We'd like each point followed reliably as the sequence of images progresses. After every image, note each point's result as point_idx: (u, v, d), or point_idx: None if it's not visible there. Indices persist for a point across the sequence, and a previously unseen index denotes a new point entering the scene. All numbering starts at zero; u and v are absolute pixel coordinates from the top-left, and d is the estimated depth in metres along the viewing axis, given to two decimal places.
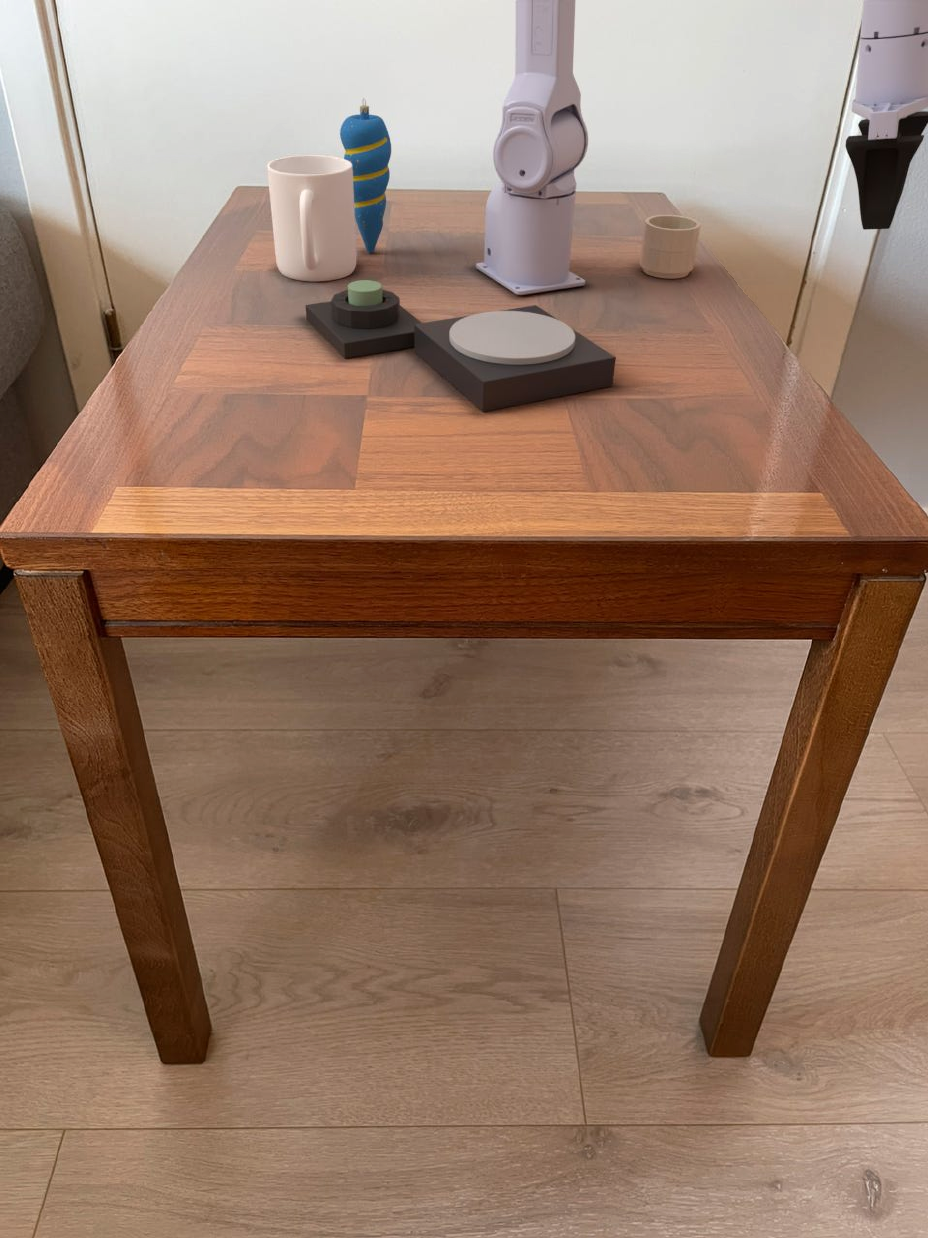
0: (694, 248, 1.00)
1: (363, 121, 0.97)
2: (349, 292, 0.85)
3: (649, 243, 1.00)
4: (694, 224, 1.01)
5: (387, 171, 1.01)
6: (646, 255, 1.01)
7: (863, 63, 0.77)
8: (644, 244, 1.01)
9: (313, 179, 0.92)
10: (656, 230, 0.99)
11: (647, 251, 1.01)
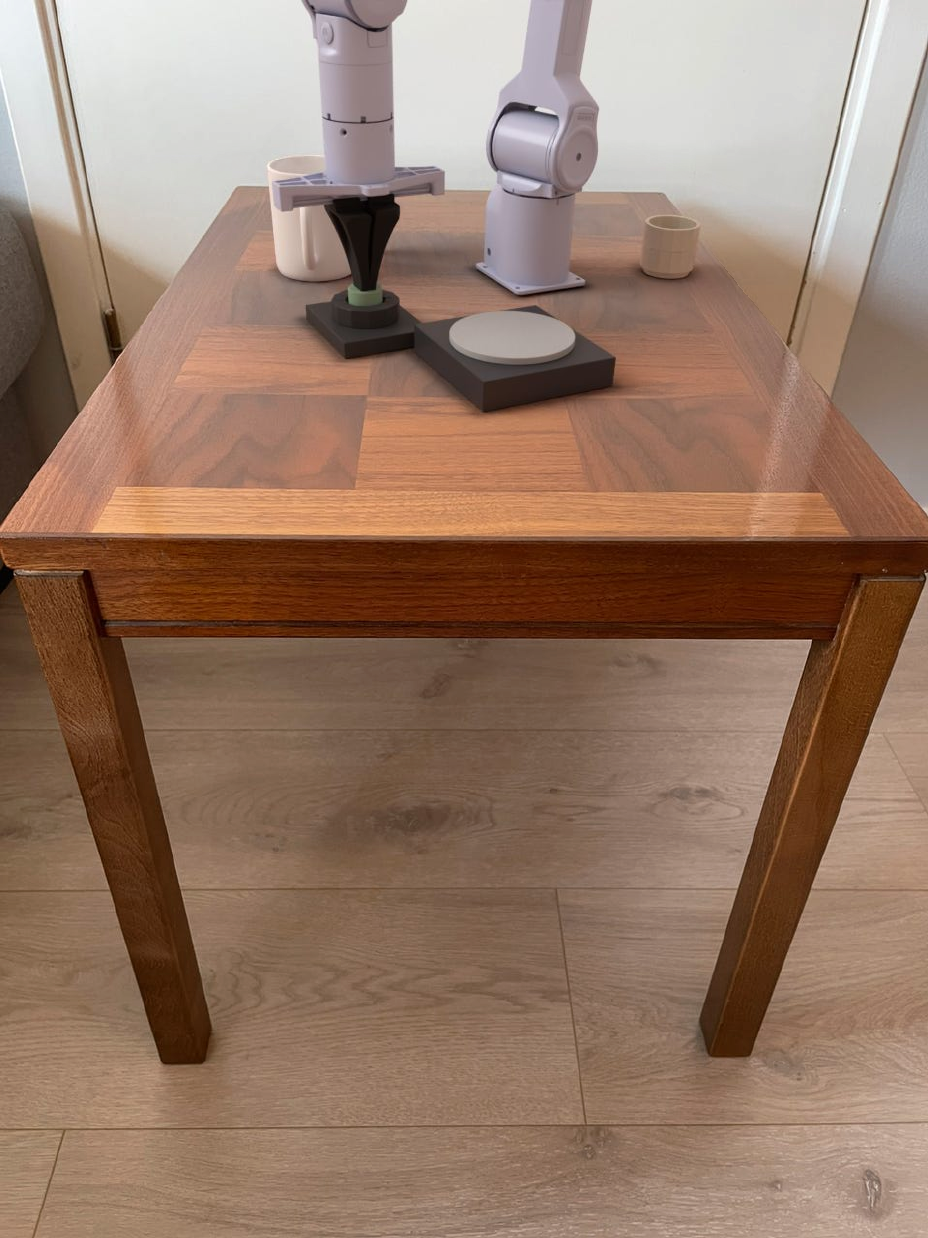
0: (694, 248, 1.00)
1: None
2: (349, 294, 0.85)
3: (649, 243, 1.00)
4: (694, 224, 1.01)
5: None
6: (646, 255, 1.01)
7: None
8: (644, 244, 1.01)
9: None
10: (656, 230, 0.99)
11: (647, 251, 1.01)
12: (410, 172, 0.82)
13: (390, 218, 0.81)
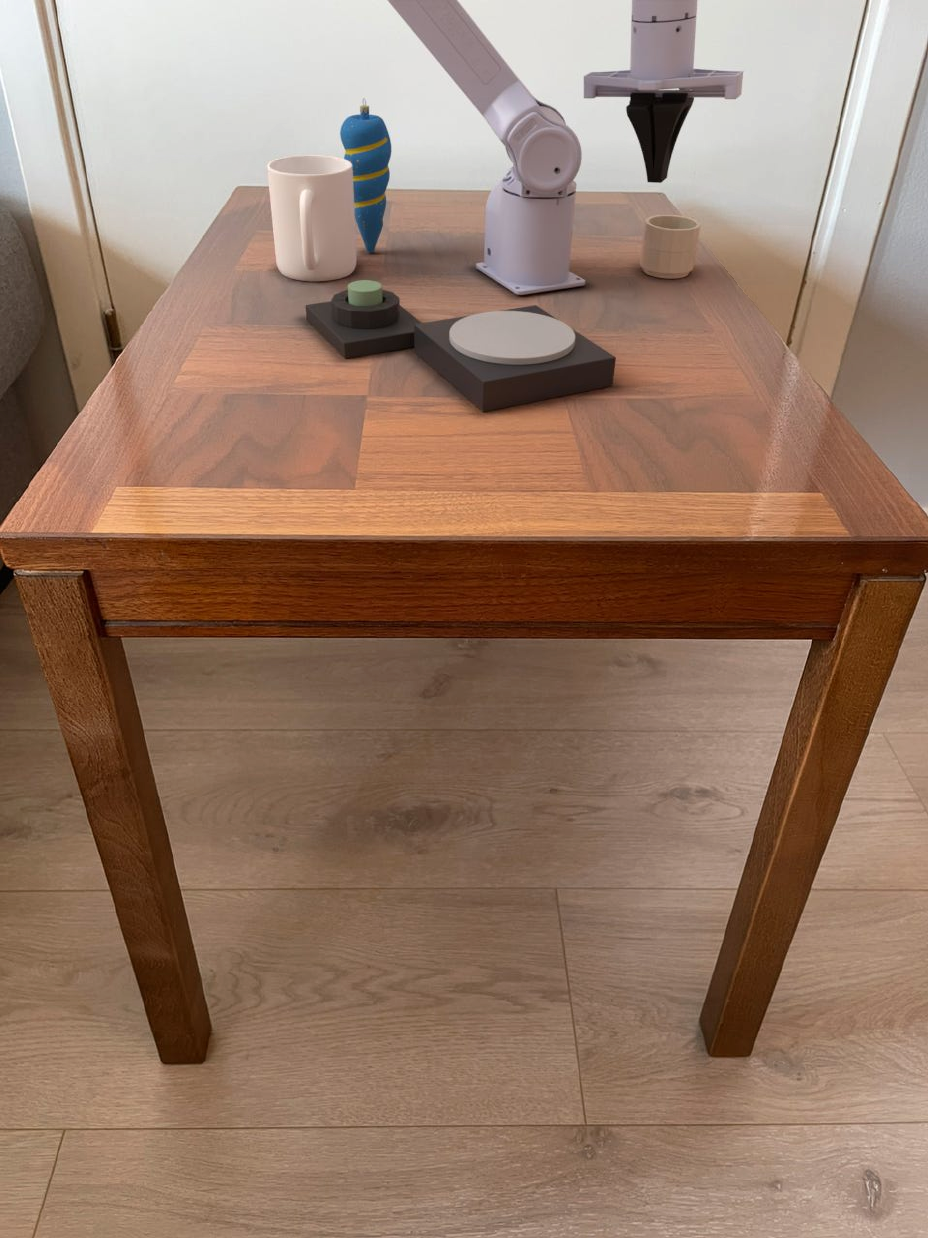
0: (694, 248, 1.00)
1: (363, 121, 0.97)
2: (349, 292, 0.85)
3: (649, 243, 1.00)
4: (694, 224, 1.01)
5: (387, 171, 1.01)
6: (646, 255, 1.01)
7: None
8: (644, 244, 1.01)
9: (313, 179, 0.92)
10: (656, 230, 0.99)
11: (647, 251, 1.01)
12: (708, 74, 0.88)
13: (667, 114, 0.89)
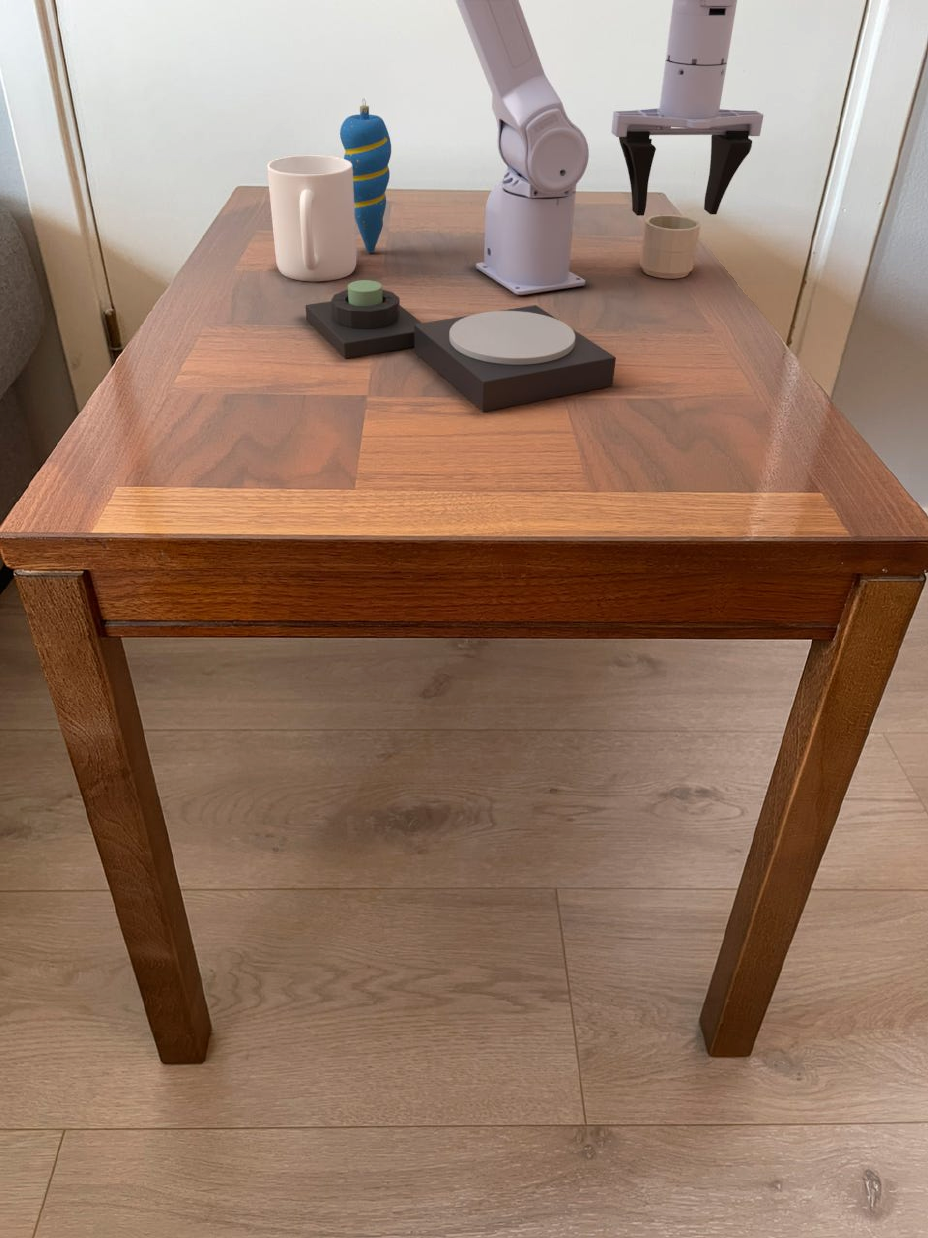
0: (694, 248, 1.00)
1: (363, 121, 0.97)
2: (349, 292, 0.85)
3: (649, 243, 1.00)
4: (694, 224, 1.01)
5: (387, 171, 1.01)
6: (646, 255, 1.01)
7: None
8: (644, 244, 1.01)
9: (314, 179, 0.92)
10: (656, 230, 0.99)
11: (647, 251, 1.01)
12: (732, 113, 0.95)
13: (742, 150, 0.95)
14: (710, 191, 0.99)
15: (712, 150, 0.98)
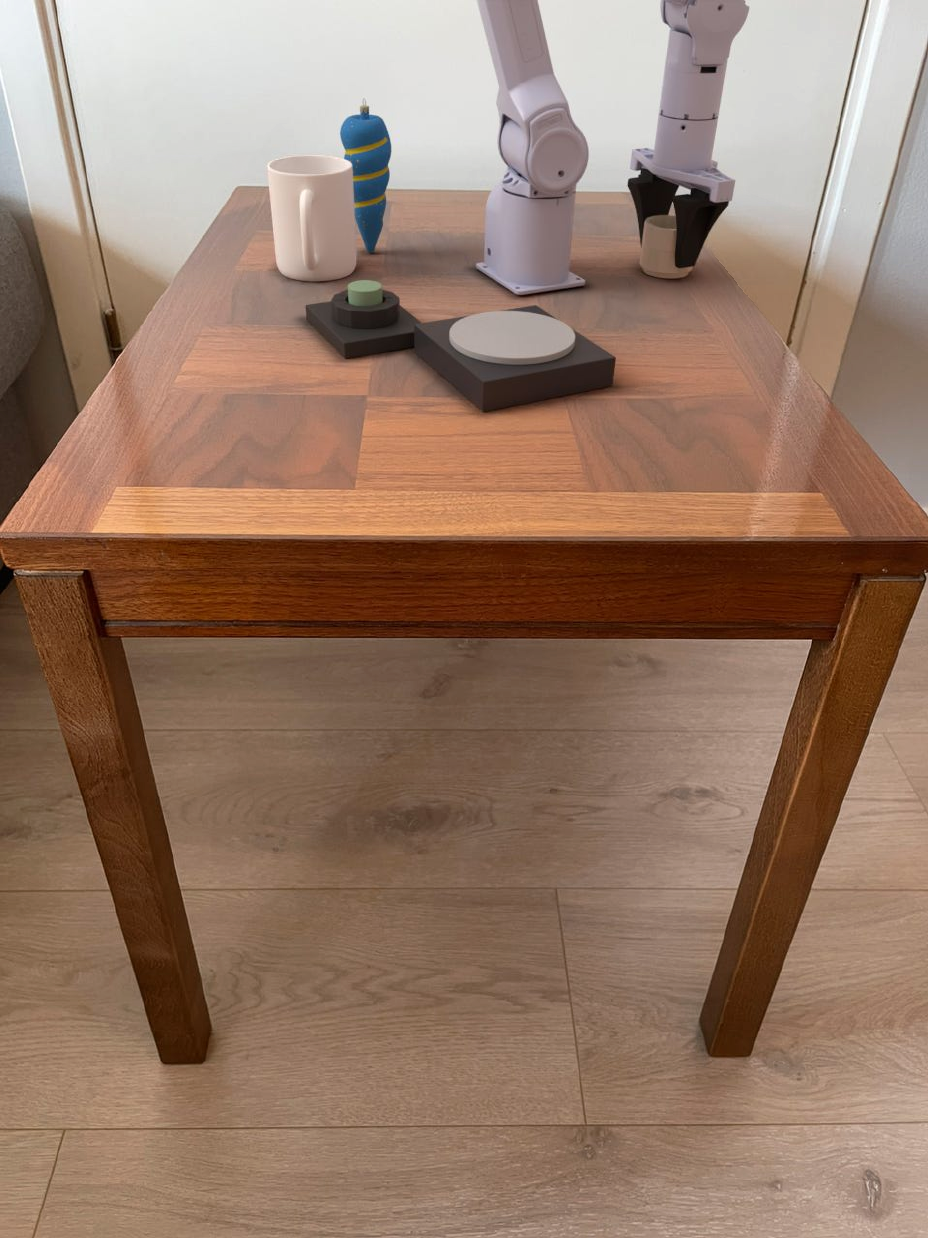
0: None
1: (363, 121, 0.97)
2: (349, 292, 0.85)
3: (649, 243, 1.00)
4: None
5: (387, 171, 1.01)
6: (646, 255, 1.01)
7: (677, 138, 0.93)
8: (644, 244, 1.01)
9: (313, 179, 0.92)
10: (656, 230, 0.99)
11: (647, 251, 1.01)
12: None
13: None
14: None
15: (644, 197, 1.01)
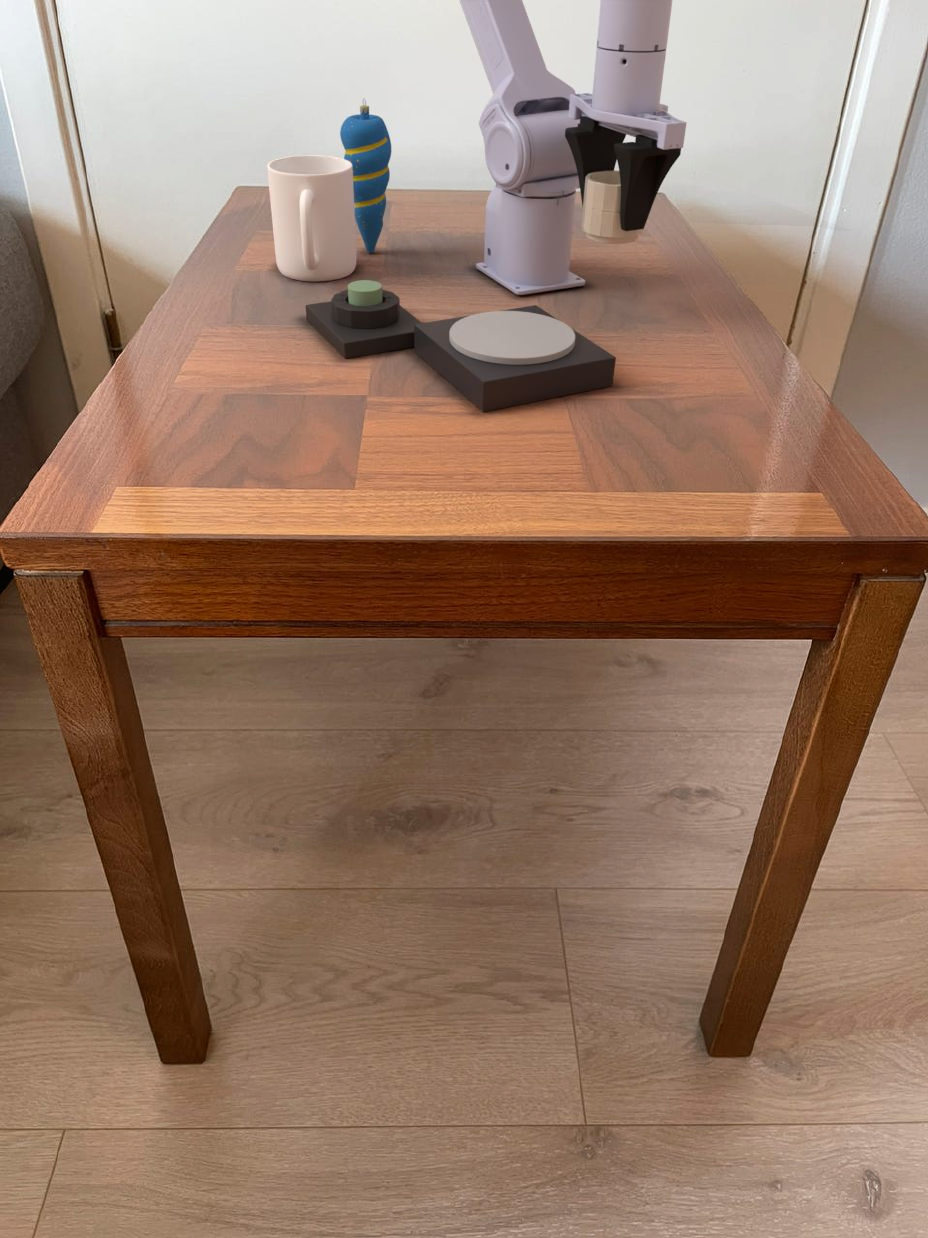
0: None
1: (363, 121, 0.97)
2: (349, 292, 0.85)
3: (590, 202, 0.86)
4: None
5: (387, 171, 1.01)
6: (588, 217, 0.87)
7: (617, 74, 0.79)
8: (585, 204, 0.87)
9: (314, 179, 0.92)
10: (598, 186, 0.85)
11: (589, 212, 0.87)
12: None
13: None
14: None
15: (584, 149, 0.87)
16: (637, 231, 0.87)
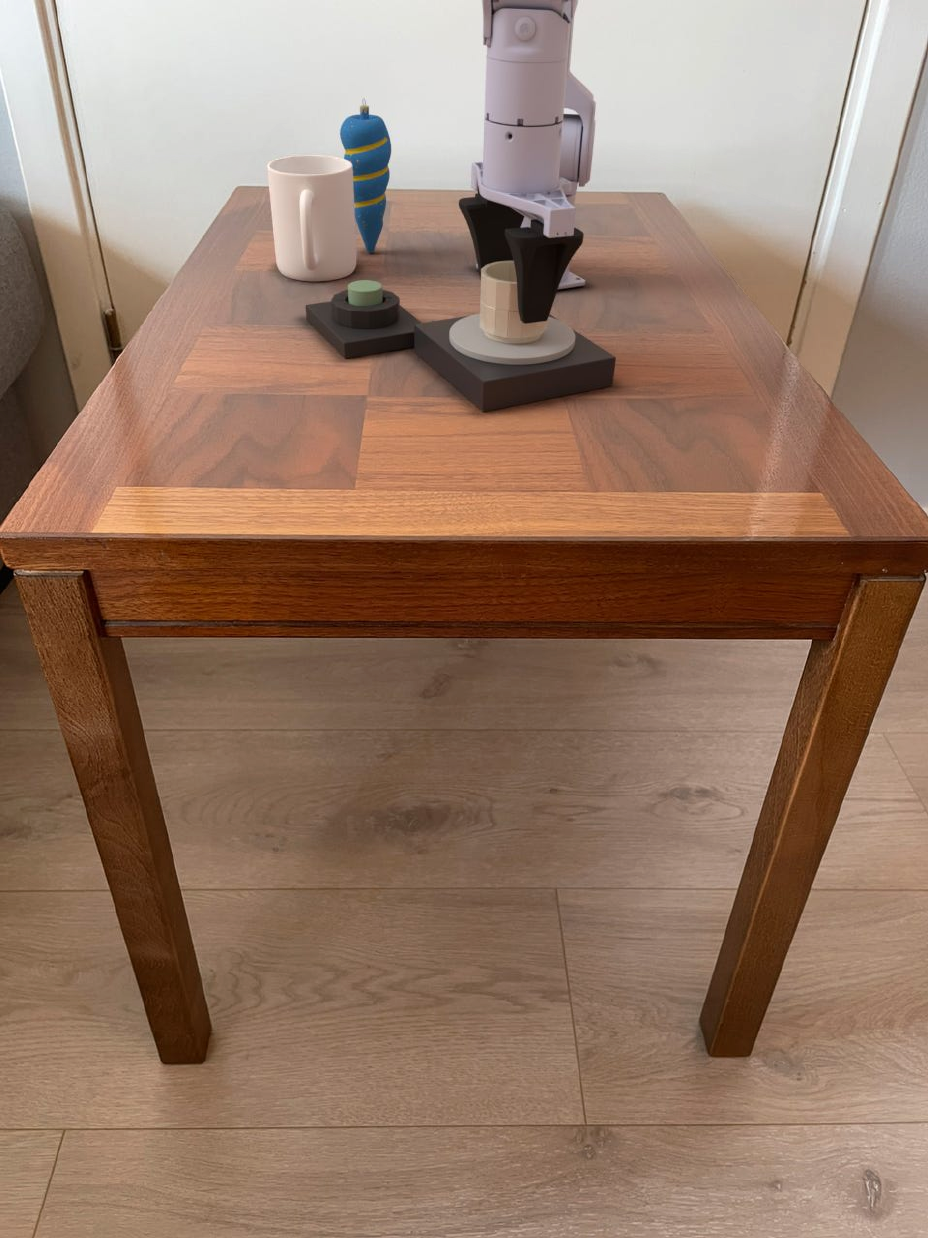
0: None
1: (363, 121, 0.97)
2: (349, 292, 0.85)
3: (484, 298, 0.77)
4: None
5: (387, 171, 1.01)
6: (482, 313, 0.78)
7: (503, 150, 0.70)
8: (480, 299, 0.78)
9: (314, 179, 0.92)
10: (490, 282, 0.76)
11: (483, 308, 0.78)
12: None
13: None
14: None
15: (478, 224, 0.78)
16: (536, 331, 0.78)
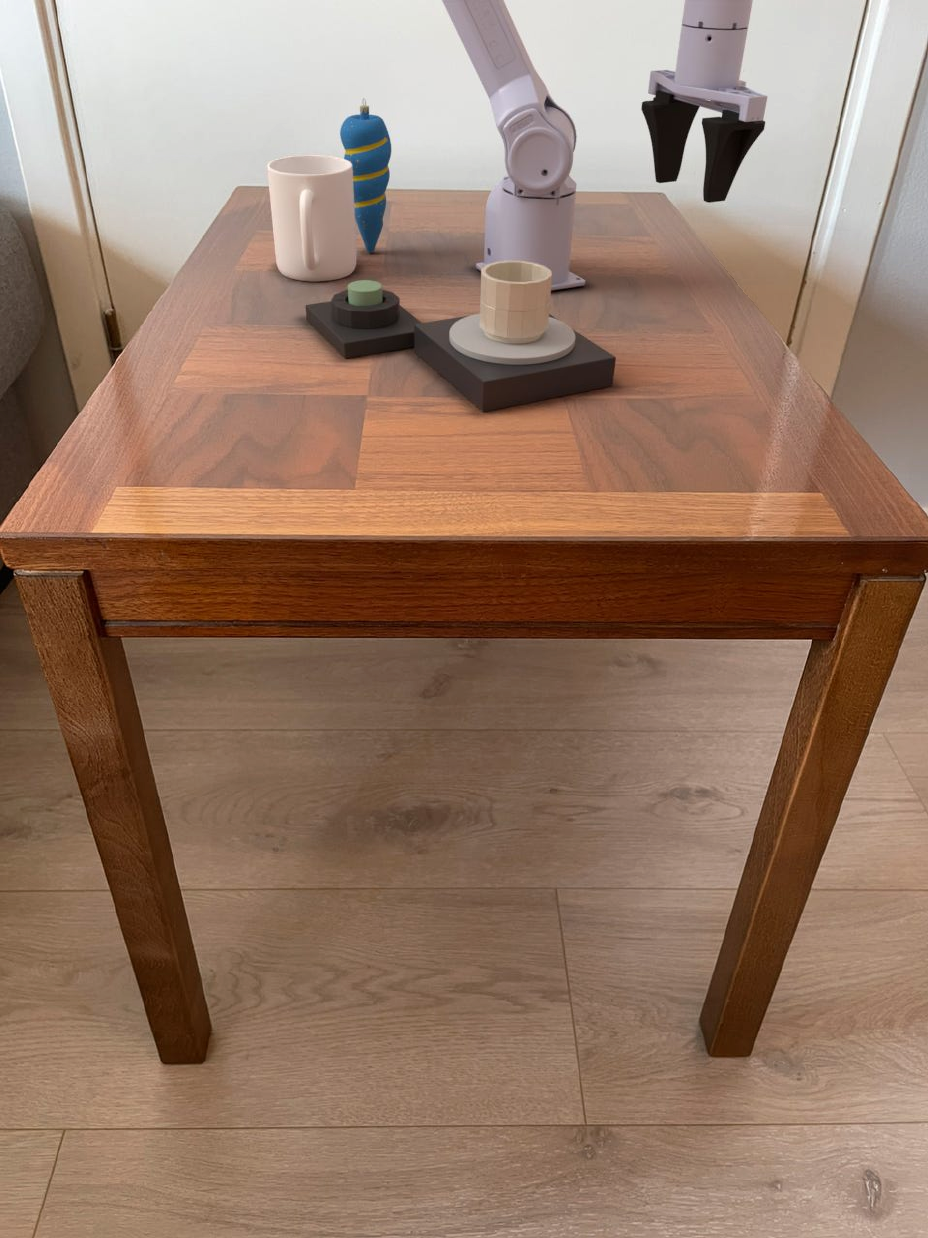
0: (543, 306, 0.77)
1: (363, 121, 0.97)
2: (349, 292, 0.85)
3: (484, 298, 0.77)
4: (546, 274, 0.78)
5: (387, 171, 1.01)
6: (482, 313, 0.78)
7: (702, 50, 0.84)
8: (480, 299, 0.78)
9: (314, 179, 0.92)
10: (490, 282, 0.76)
11: (483, 308, 0.78)
12: None
13: None
14: (668, 161, 0.95)
15: (659, 122, 0.92)
16: (536, 331, 0.78)
